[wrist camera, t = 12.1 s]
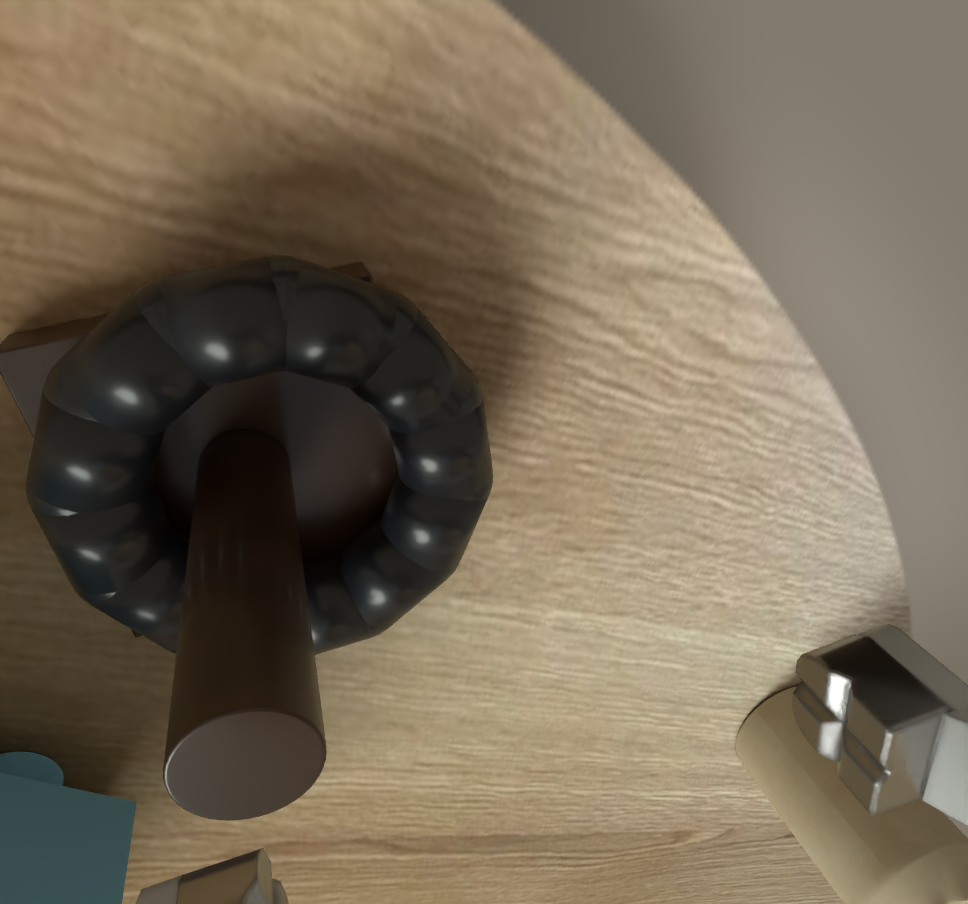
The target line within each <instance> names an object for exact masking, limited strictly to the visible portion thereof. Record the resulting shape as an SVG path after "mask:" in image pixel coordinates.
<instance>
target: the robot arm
mask: <svg viewBox="0 0 968 904" xmlns="http://www.w3.org/2000/svg"><path fill="white" fill-rule="evenodd" d="M796 673H797V675H798V676H799V677H800V678H801V679H802V681H801V683H800V684H799V685H798V687H797V688H796V690H795V691H794V692H793V702H792V710H793V713H794V716H795V719H796V722H797V725H798V727H799V729H800V730H801V732H802V734H803V735H804V737H805V739H806V740H807V741H808V742H809V744H810V745H811V746H812V747H813V748H814V750H815V751H816V752H817V753H818V754H820V755H823V756H825V757H827V758H829V759H831V760H834V761H836V762H837V768H838V777H839V779H840V780H841V781H842V782H843V784H844V785H845V786H846V787H847V788H848V789H849V790H850V792H851V793H852V794H853V795H854V796H855V797H856V798H857V800H858V801H859V802H860V803H861V804H862V805H863V807H864V808H865V809H866V810H867V811H868V812H869V813H870V815H871V816H874V815H876V814H879V813H882V812H884V811H887V810H890V809H892V808H895V807H898V806H900V805H903V804H906V803H908V802H911V801H913V800H916V799H919V798H921V797H923V800H922V801H924V802H926V803H927V804H929V805H931V806H933V807H935V808H936V809H938V810H940V811H942V812H944V813H945V814H947V815H949V816H951V817H953V818H954V819H956V820H958V821H960V822H962V823H963V824H965V825H967V826H968V685H967V684H966V683H965V682H964V681H962V680H961V679H960V678H959V677H957V676H956V675H955V674H954V673H953V672H951V671H950V670H949V669H948V668H947V667H945V666H944V665H943V664H942V663H940V662H939V661H938V660H937V659H936V658H934V657H933V656H932V655H930V654H929V653H928V652H927V651H926V650H925V649H923V648H922V647H921V646H920V645H919V644H917V643H916V642H915V641H914V640H912V639H911V638H910V637H909V636H908V635H906V634H905V633H904V632H903V631H902V630H900V629H899V628H897V627H895V626H892V625H890V624H886V625H882V626H879V627H876V628H874V629H871V630H869V631H866V632H863V633H861V634H858V635H852V636H849V637H847V638H844V639H841V640H839V641H836V642H833V643H831V644H828V645H826V646H823V647H820V648H818V649H815V650H812V651H810V652H807V653H804V654H802V655H801V657H800V658H799V659H798V660H797V665H796ZM136 904H289V902H288V899H287V896H286V892H285V890H284V888H283V886H282V884H281V881H278V880H275V879H272V872H271V861H270V859H269V857H268V855H267V854H266V852H265V850H264V848H261V849H258V850H255V851H252V852H250V853H247V854H244V855H241V856H238V857H235V858H232V859H229V860H226V861H223V862H220V863H217V864H214V865H211V866H208V867H205V868H202V869H199V870H196V871H193V872H190V873H187V874H183V875H181V876H178V877H175V878H172V879H169V880H166V881H164V882H161V883H158V884H155V885H152V886H150V887H147V888H144V889H142V890H141V892H140V894H139V897H138V899H137V902H136Z"/></svg>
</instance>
